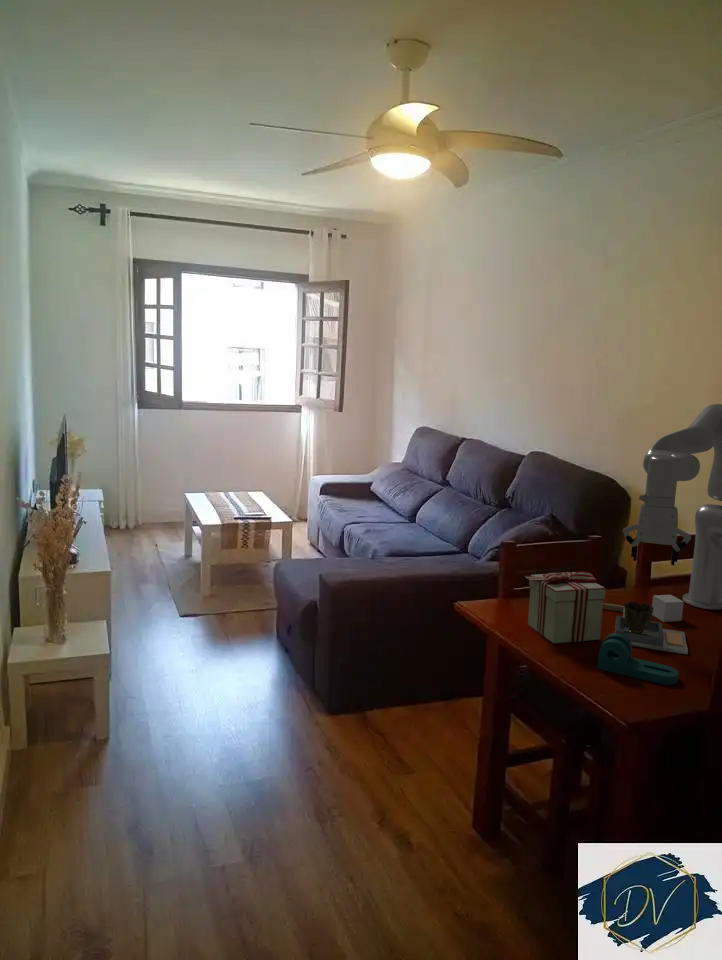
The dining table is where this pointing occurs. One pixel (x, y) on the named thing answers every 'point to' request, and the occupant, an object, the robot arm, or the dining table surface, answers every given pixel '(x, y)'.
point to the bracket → (632, 662)
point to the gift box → (566, 606)
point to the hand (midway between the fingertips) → (653, 561)
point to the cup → (637, 616)
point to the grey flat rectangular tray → (654, 637)
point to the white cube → (667, 608)
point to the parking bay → (614, 608)
